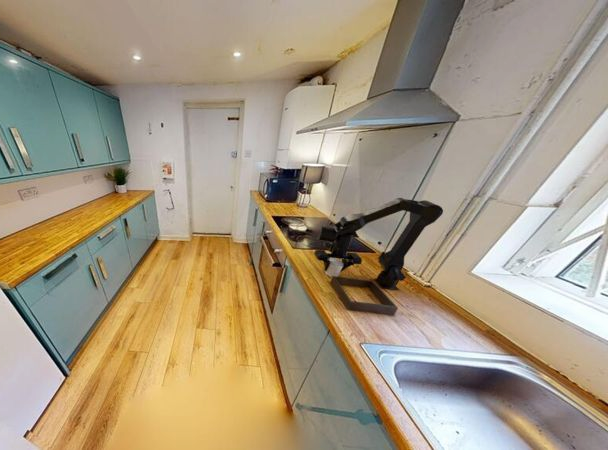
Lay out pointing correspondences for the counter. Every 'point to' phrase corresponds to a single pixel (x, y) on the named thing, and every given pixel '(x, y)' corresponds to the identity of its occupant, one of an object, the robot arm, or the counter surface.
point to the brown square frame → (385, 308)
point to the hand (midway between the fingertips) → (332, 271)
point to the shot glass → (334, 267)
